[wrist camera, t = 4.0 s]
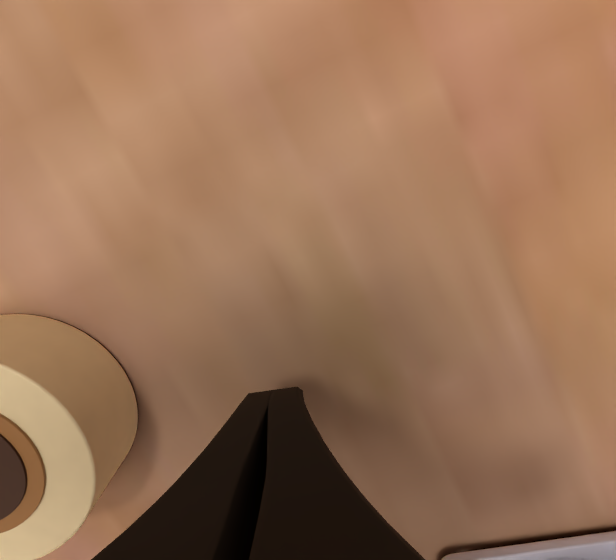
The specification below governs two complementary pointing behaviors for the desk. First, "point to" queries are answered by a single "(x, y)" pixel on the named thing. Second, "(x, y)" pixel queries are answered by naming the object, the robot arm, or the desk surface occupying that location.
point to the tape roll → (56, 431)
